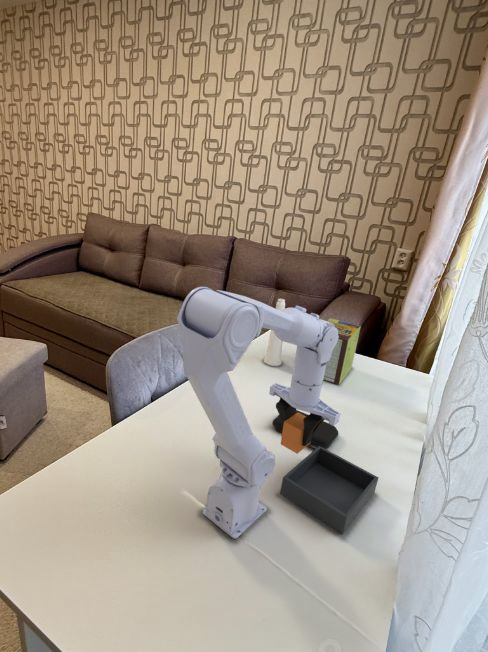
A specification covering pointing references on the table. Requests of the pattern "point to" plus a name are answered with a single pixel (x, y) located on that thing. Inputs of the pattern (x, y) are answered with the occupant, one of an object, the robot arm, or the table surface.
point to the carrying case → (321, 436)
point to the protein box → (342, 351)
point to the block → (293, 433)
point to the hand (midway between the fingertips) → (296, 438)
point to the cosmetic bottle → (275, 343)
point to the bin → (329, 488)
